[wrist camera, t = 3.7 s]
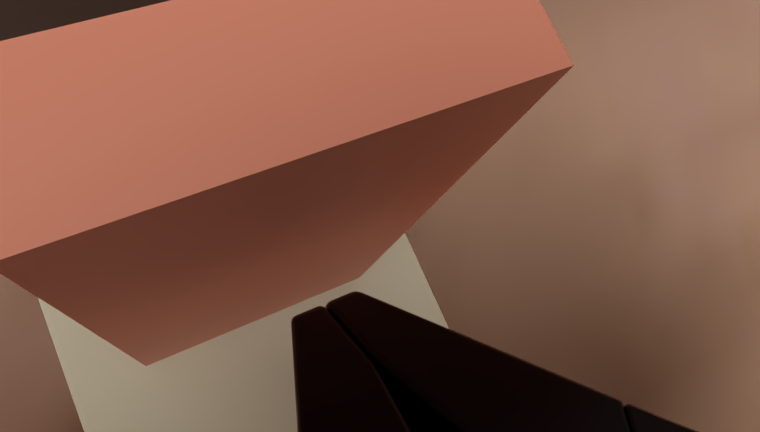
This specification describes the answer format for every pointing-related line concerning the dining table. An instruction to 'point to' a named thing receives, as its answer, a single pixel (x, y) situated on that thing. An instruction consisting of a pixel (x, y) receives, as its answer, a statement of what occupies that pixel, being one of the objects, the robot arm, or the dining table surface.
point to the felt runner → (218, 364)
